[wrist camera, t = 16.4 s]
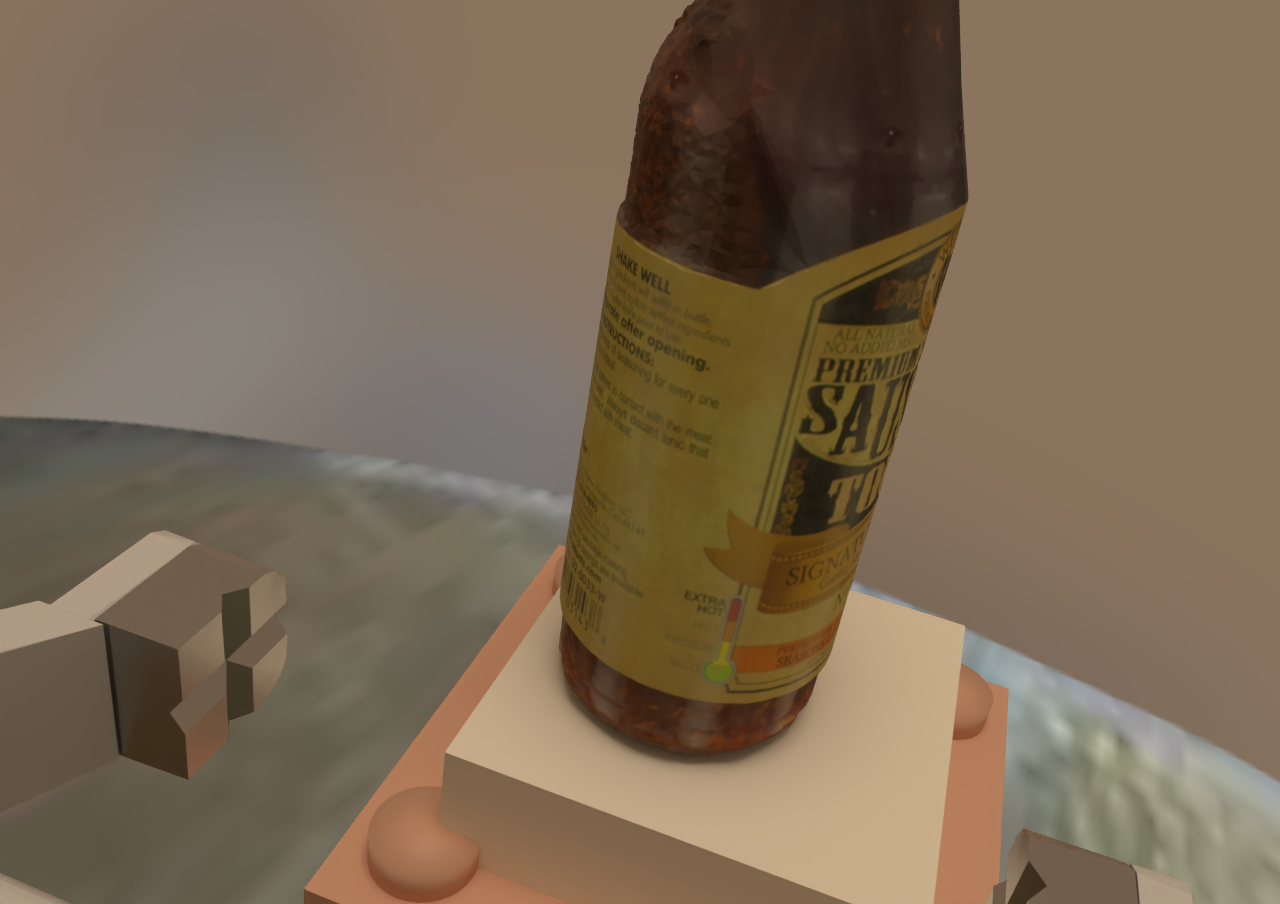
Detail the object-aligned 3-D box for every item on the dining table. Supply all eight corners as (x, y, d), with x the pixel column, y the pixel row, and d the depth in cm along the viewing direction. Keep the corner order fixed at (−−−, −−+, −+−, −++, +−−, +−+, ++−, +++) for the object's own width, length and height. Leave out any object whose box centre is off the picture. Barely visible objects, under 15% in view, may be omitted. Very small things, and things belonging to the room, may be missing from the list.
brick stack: (304, 979, 24) (303, 787, 21) (549, 619, 36) (570, 463, 33) (937, 1252, 21) (1038, 1074, 18) (977, 763, 33) (1042, 607, 30)
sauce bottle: (762, 818, 22) (1121, -408, 12) (497, 696, 24) (622, -452, 14) (849, 642, 27) (1146, -311, 18) (626, 553, 29) (782, -353, 19)
